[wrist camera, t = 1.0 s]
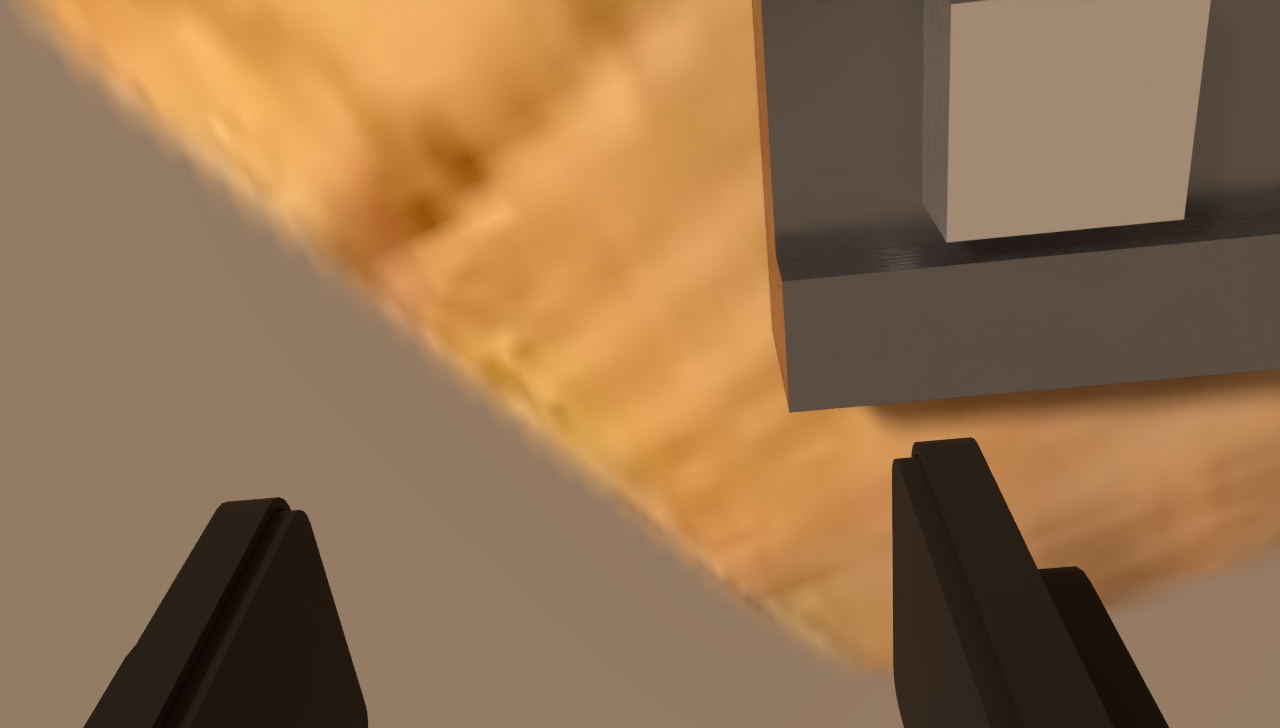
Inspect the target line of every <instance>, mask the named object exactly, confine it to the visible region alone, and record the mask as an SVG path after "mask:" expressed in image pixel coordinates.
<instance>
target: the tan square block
mask: <svg viewBox="0 0 1280 728" xmlns="http://www.w3.org/2000/svg"><path fill="white" fill-rule="evenodd" d="M1210 3H1211V0H924V42H923V177H922V203H923V205H924V207H925V208H926V210H927V211H928V213H929V215H930V216H931V218H932V220H933V221H934V223H935V224H936V226H937V228H938V229H939V231H940V232H941V234H942V236H943V237H944V239H945V241H946V242H957V241H967V240H977V239H988V238H998V237H1008V236H1019V235H1029V234H1039V233H1049V232H1060V231H1070V230H1080V229H1091V228H1101V227H1111V226H1121V225H1132V224H1142V223H1152V222H1163V221H1173V220H1183V219H1184V215H1185V206H1186V198H1187V190H1188V182H1189V174H1190V166H1191V158H1192V150H1193V141H1194V133H1195V125H1196V117H1197V109H1198V101H1199V93H1200V85H1201V76H1202V68H1203V60H1204V52H1205V44H1206V36H1207V28H1208V20H1209V11H1210Z"/></svg>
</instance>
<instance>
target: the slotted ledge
mask: <svg viewBox="0 0 1280 728" xmlns="http://www.w3.org/2000/svg"><path fill="white" fill-rule="evenodd" d="M752 9H753V25H754V41H755V57H756V73H757V90H758V106H759V122H760V138H761V154H762V171H763V187H764V203H765V219H766V235H767V251H768V268H769V284H770V300H771V316H772V332H773V336H774V341H775V346H776V351H777V356H778V360H779V365H780V370H781V375H782V379H783V384H784V389H785V394H786V399H787V403H788V408H789V412H801V411H812V410H823V409H834V408H846V407H857V406H868V405H880V404H891V403H902V402H913V401H925V400H936V399H947V398H959V397H970V396H981V395H993V394H1004V393H1015V392H1026V391H1038V390H1049V389H1060V388H1072V387H1083V386H1094V385H1105V384H1117V383H1128V382H1139V381H1151V380H1162V379H1173V378H1185V377H1196V376H1207V375H1218V374H1230V373H1241V372H1252V371H1264V370H1275V369H1280V0H1211V3H1210V11H1209V20H1208V28H1207V36H1206V44H1205V52H1204V60H1203V68H1202V76H1201V85H1200V93H1199V101H1198V109H1197V117H1196V125H1195V133H1194V141H1193V150H1192V158H1191V166H1190V174H1189V182H1188V190H1187V198H1186V206H1185V215H1184V219H1183V220H1173V221H1163V222H1152V223H1142V224H1132V225H1121V226H1111V227H1101V228H1091V229H1080V230H1070V231H1060V232H1049V233H1039V234H1029V235H1019V236H1008V237H998V238H988V239H977V240H967V241H957V242H946V241H945V239H944V237H943V236H942V234H941V232H940V231H939V229H938V228H937V226H936V224H935V223H934V221H933V220H932V218H931V216H930V215H929V213H928V211H927V210H926V208H925V207H924V205H923V203H922V177H923V42H924V0H752Z"/></svg>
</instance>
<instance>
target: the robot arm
mask: <svg viewBox="0 0 1280 728" xmlns="http://www.w3.org/2000/svg"><path fill="white" fill-rule="evenodd" d="M892 528H893V667H894V682H895V689H896V696H897V701H898V706H899V710H900V714H901V718H902V721H903V725H904V728H1169V726H1168V725H1167V723H1166V721H1165V719H1164V717H1163V715H1162V713H1161V712H1160V710H1159V708H1158V706H1157V704H1156V702H1155V700H1154V699H1153V697H1152V695H1151V693H1150V691H1149V689H1148V688H1147V686H1146V684H1145V682H1144V680H1143V678H1142V676H1141V674H1140V673H1139V671H1138V669H1137V667H1136V665H1135V663H1134V661H1133V659H1132V658H1131V656H1130V654H1129V652H1128V650H1127V648H1126V647H1125V645H1124V643H1123V641H1122V639H1121V637H1120V636H1119V633H1118V632H1117V630H1116V628H1115V626H1114V624H1113V622H1112V620H1111V619H1110V617H1109V615H1108V613H1107V611H1106V609H1105V607H1104V606H1103V604H1102V602H1101V600H1100V598H1099V596H1098V594H1097V593H1096V591H1095V589H1094V587H1093V585H1092V583H1091V582H1090V580H1089V579H1088V577H1087V576H1086V574H1085V573H1084V571H1083V570H1081V569H1079V568H1078V567H1076V566H1074V567H1061V568H1048V569H1037V566H1036V564H1035V562H1034V560H1033V558H1032V556H1031V554H1030V552H1029V550H1028V548H1027V546H1026V544H1025V541H1024V539H1023V537H1022V535H1021V533H1020V531H1019V529H1018V527H1017V525H1016V523H1015V521H1014V519H1013V516H1012V514H1011V512H1010V510H1009V508H1008V506H1007V504H1006V502H1005V500H1004V498H1003V496H1002V494H1001V491H1000V489H999V487H998V485H997V483H996V481H995V479H994V477H993V475H992V473H991V471H990V469H989V466H988V464H987V462H986V460H985V458H984V456H983V454H982V452H981V450H980V448H979V446H978V444H977V442H976V441H975V439H974V438H971V437H970V438H958V439H947V440H935V441H924V442H915V443H914V445H913V448H912V457H911V458H900V459H894V461H893V465H892ZM84 728H368V718H367V709H366V705H365V702H364V698H363V695H362V692H361V688H360V685H359V682H358V678H357V675H356V672H355V669H354V665H353V662H352V659H351V655H350V652H349V649H348V646H347V642H346V639H345V636H344V632H343V629H342V626H341V622H340V619H339V616H338V613H337V609H336V606H335V603H334V599H333V596H332V593H331V590H330V586H329V583H328V580H327V576H326V573H325V570H324V566H323V563H322V560H321V557H320V553H319V550H318V547H317V543H316V540H315V537H314V534H313V531H312V527H311V524H310V521H309V519H308V516H307V515H306V513H305V512H304V511H302V510H295V511H294V510H293V511H291V510H290V507H289V505H288V504H287V502H286V501H285V500H284V499H282V498H280V497H276V498H265V499H254V500H241V501H230V502H225V503H222V504H221V505H220V506H219V507H218V508H217V510H216V511H215V513H214V515H213V516H212V518H211V520H210V521H209V523H208V525H207V526H206V528H205V530H204V531H203V533H202V535H201V536H200V538H199V540H198V542H197V543H196V545H195V547H194V548H193V550H192V552H191V553H190V555H189V557H188V558H187V560H186V562H185V564H184V565H183V567H182V568H181V570H180V572H179V573H178V575H177V577H176V579H175V580H174V582H173V583H172V585H171V587H170V589H169V590H168V592H167V594H166V595H165V597H164V599H163V600H162V602H161V604H160V605H159V607H158V609H157V611H156V612H155V614H154V616H153V617H152V619H151V620H150V622H149V624H148V625H147V627H146V629H145V630H144V632H143V634H142V635H141V637H140V639H139V640H138V642H137V644H136V645H135V646H134V648H133V649H132V650H131V651H130V653H129V654H128V655H127V656H126V658H125V659H124V661H123V662H122V664H121V666H120V667H119V669H118V671H117V672H116V674H115V676H114V678H113V679H112V681H111V682H110V684H109V686H108V688H107V689H106V691H105V693H104V694H103V696H102V698H101V699H100V701H99V703H98V704H97V706H96V708H95V709H94V711H93V713H92V714H91V716H90V718H89V719H88V721H87V723H86V724H85V726H84Z"/></svg>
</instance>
